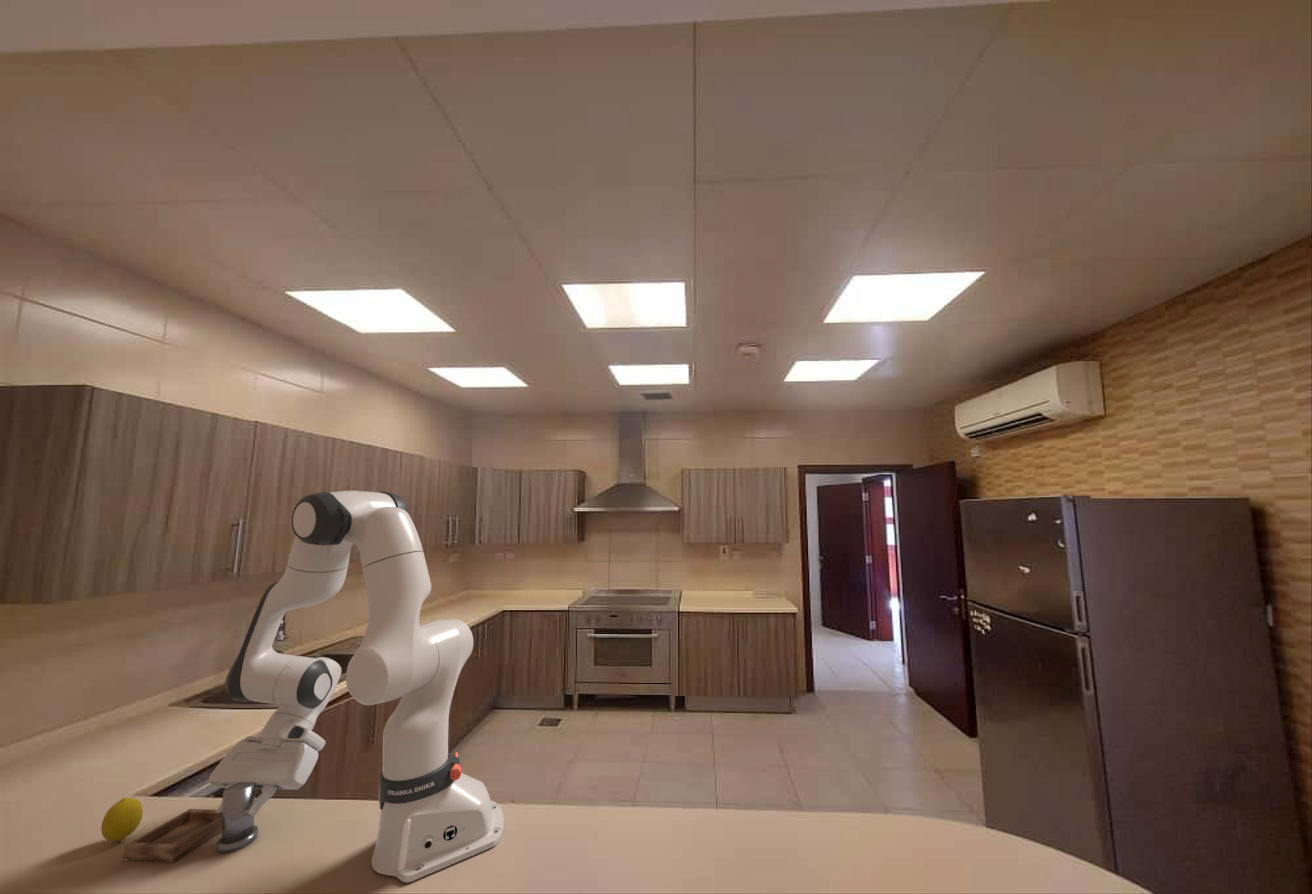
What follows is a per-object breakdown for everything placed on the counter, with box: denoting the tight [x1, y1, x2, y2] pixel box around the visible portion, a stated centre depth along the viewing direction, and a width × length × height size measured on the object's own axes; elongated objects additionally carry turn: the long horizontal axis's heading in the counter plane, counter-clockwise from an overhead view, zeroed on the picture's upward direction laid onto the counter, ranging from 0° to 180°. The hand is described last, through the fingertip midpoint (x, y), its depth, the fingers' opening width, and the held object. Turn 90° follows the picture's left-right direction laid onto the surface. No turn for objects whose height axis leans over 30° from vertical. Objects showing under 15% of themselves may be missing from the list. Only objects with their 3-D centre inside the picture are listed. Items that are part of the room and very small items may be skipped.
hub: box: [215, 782, 259, 855], centre depth 93 cm, size 6×6×10 cm
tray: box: [123, 808, 222, 864], centre depth 94 cm, size 11×11×2 cm
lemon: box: [100, 797, 144, 842], centre depth 95 cm, size 6×6×8 cm
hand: (235, 814), depth 92 cm, fingers closed on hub, 5 cm apart
